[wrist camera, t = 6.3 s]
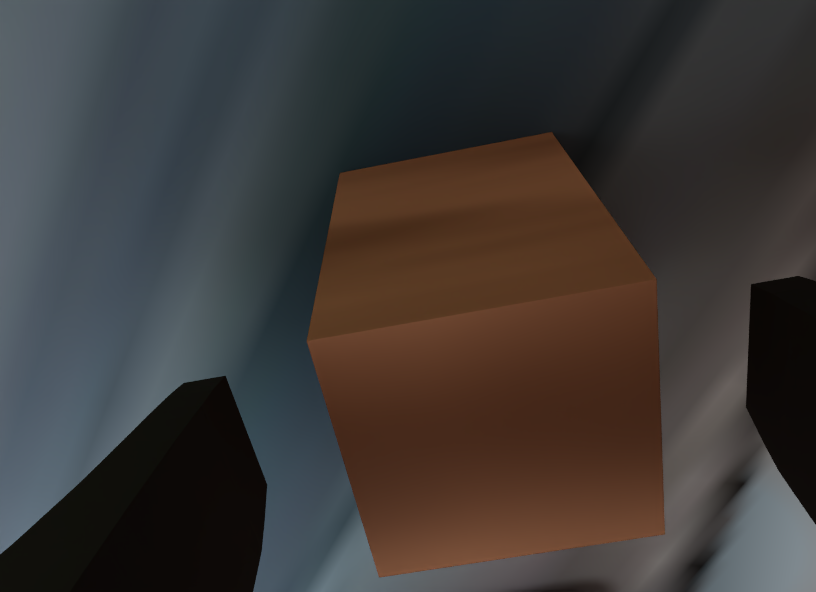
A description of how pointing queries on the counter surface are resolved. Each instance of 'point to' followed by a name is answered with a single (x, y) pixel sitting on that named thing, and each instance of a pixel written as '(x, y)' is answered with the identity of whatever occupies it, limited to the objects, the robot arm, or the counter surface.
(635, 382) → the terracotta block
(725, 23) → the counter surface
